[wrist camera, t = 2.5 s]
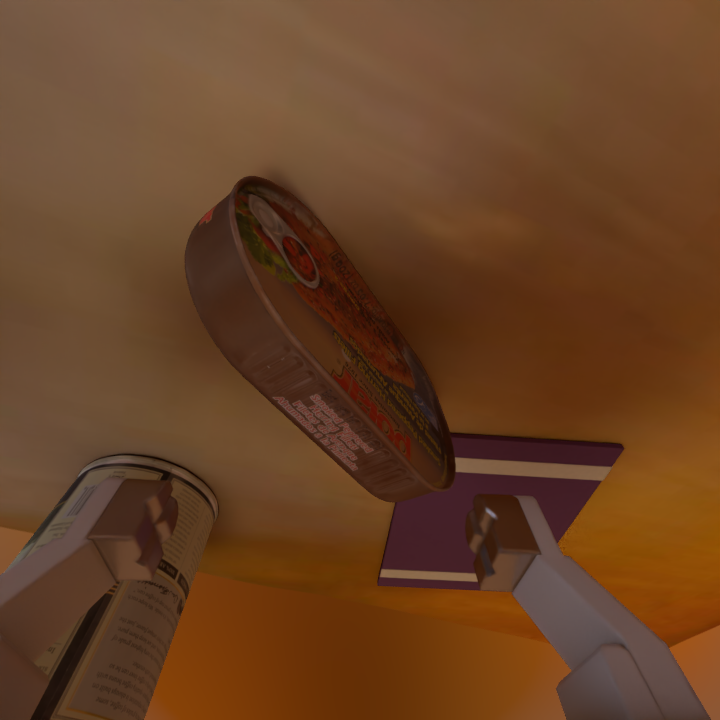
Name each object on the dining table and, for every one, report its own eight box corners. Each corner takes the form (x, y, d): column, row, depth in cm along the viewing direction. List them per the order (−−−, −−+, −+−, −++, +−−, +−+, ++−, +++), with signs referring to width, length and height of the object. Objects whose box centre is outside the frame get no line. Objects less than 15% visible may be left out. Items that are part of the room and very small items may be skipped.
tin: (444, 394, 22) (482, 526, 15) (398, 416, 23) (414, 549, 16) (277, 157, 15) (202, 195, 8) (222, 202, 16) (113, 273, 9)
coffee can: (144, 547, 32) (15, 802, 20) (45, 475, 26) (-209, 766, 15) (246, 521, 29) (169, 792, 18) (161, 437, 24) (-30, 744, 12)
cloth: (621, 444, 24) (625, 449, 24) (521, 588, 35) (523, 593, 35) (411, 430, 24) (412, 435, 23) (377, 581, 35) (377, 586, 34)
